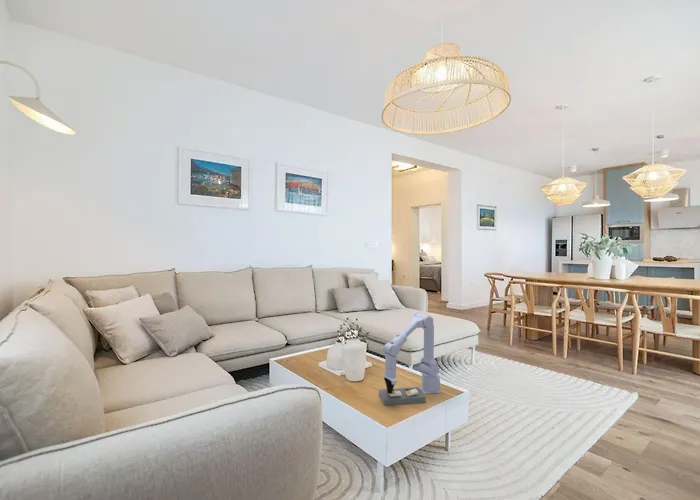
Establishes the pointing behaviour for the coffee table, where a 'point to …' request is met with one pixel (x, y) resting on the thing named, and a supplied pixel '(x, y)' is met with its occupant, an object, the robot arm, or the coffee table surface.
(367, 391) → the coffee table surface
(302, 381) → the coffee table surface
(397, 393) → the rocker
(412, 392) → the rocker
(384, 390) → the grey switch panel
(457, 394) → the coffee table surface
